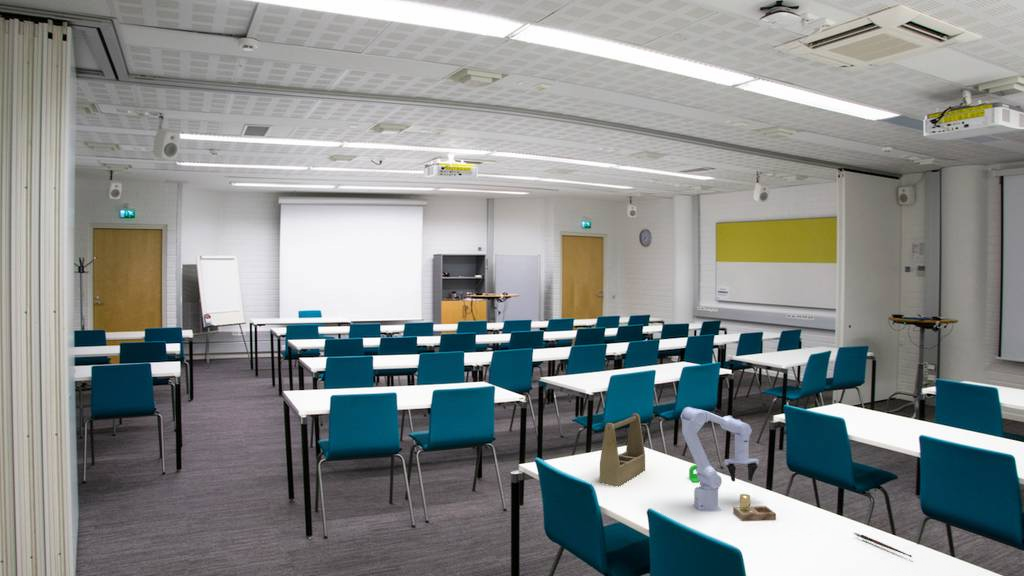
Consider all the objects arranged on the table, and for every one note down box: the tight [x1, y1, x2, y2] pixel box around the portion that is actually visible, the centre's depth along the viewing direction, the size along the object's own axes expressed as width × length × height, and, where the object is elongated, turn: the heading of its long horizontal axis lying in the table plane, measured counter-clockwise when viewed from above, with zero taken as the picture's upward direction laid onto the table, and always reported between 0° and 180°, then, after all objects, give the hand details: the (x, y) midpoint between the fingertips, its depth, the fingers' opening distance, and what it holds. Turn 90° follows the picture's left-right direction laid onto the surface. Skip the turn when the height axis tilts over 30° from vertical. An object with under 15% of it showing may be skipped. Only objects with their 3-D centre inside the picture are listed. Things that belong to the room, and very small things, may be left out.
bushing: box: [739, 493, 751, 512], centre depth 273 cm, size 4×4×6 cm
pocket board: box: [732, 505, 777, 522], centre depth 273 cm, size 14×9×3 cm, turn 94°
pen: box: [853, 532, 913, 558], centre depth 243 cm, size 1×1×23 cm
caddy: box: [599, 413, 646, 488], centre depth 325 cm, size 29×11×30 cm, turn 144°
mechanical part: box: [688, 464, 700, 484], centre depth 318 cm, size 12×6×8 cm, turn 91°
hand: (741, 480), depth 289 cm, fingers open, 7 cm apart
